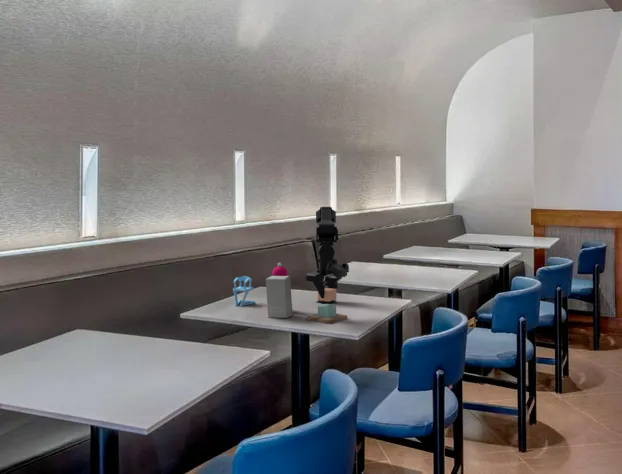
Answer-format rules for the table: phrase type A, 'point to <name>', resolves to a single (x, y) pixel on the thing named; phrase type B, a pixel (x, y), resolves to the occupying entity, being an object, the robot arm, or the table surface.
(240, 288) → the chair
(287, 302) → the skincare box
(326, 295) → the tan brick
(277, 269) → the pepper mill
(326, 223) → the robot arm
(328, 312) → the teal brick
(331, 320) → the walnut board
